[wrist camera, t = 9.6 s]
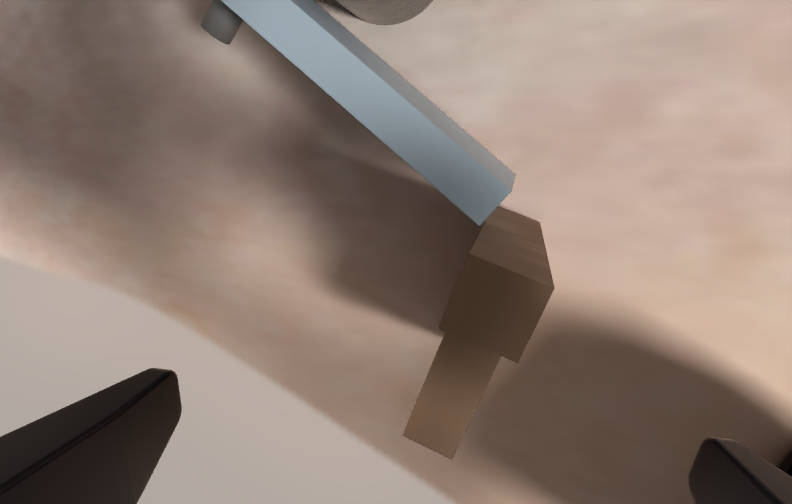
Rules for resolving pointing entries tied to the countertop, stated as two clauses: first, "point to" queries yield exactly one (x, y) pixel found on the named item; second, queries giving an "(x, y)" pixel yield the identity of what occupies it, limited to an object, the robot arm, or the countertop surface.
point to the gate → (373, 97)
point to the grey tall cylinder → (385, 10)
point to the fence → (482, 326)
